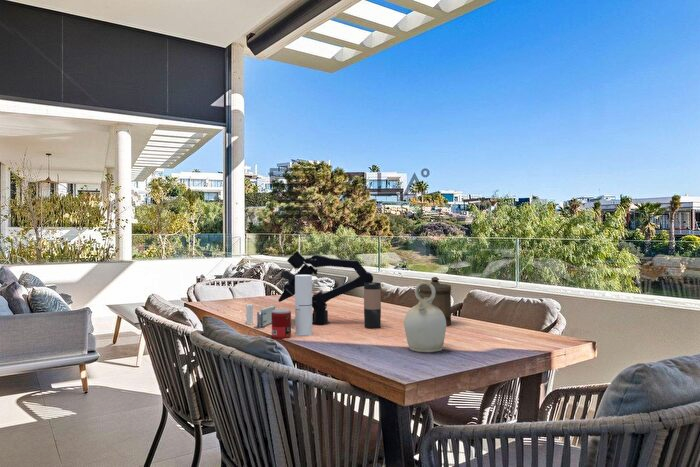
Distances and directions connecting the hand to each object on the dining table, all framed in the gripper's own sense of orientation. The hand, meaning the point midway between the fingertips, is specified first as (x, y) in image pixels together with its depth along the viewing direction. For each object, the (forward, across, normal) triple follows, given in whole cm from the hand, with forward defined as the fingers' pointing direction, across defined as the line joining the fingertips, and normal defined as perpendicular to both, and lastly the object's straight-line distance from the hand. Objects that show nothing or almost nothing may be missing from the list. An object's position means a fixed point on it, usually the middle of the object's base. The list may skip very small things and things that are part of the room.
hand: (280, 299), depth 240 cm
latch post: (+19, -3, -3) cm, 19 cm away
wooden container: (-41, +4, +61) cm, 74 cm away
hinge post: (+14, +9, +2) cm, 17 cm away
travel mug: (-21, +11, +39) cm, 46 cm away
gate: (+11, +2, +3) cm, 12 cm away
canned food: (+6, +30, +11) cm, 32 cm away
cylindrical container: (0, +25, +17) cm, 30 cm away
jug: (-33, +53, +52) cm, 81 cm away
